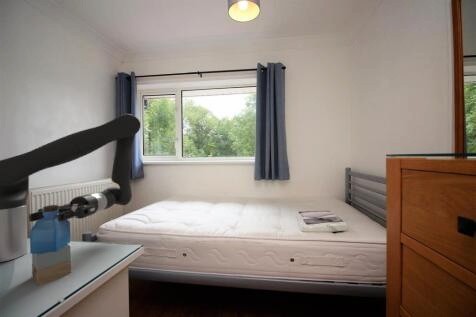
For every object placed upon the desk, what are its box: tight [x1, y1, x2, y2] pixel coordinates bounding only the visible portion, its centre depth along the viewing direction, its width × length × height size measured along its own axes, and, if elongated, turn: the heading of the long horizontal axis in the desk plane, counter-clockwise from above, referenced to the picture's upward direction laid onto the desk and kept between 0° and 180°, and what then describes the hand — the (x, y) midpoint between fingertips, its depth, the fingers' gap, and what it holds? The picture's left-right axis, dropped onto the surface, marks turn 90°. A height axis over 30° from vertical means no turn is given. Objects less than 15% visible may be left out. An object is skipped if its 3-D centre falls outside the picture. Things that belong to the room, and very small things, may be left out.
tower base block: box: [31, 260, 72, 286], centre depth 59 cm, size 7×7×4 cm
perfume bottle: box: [29, 204, 71, 255], centre depth 59 cm, size 6×6×12 cm
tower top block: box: [31, 243, 72, 270], centre depth 59 cm, size 7×7×4 cm
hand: (44, 217), depth 58 cm, fingers open, 8 cm apart
